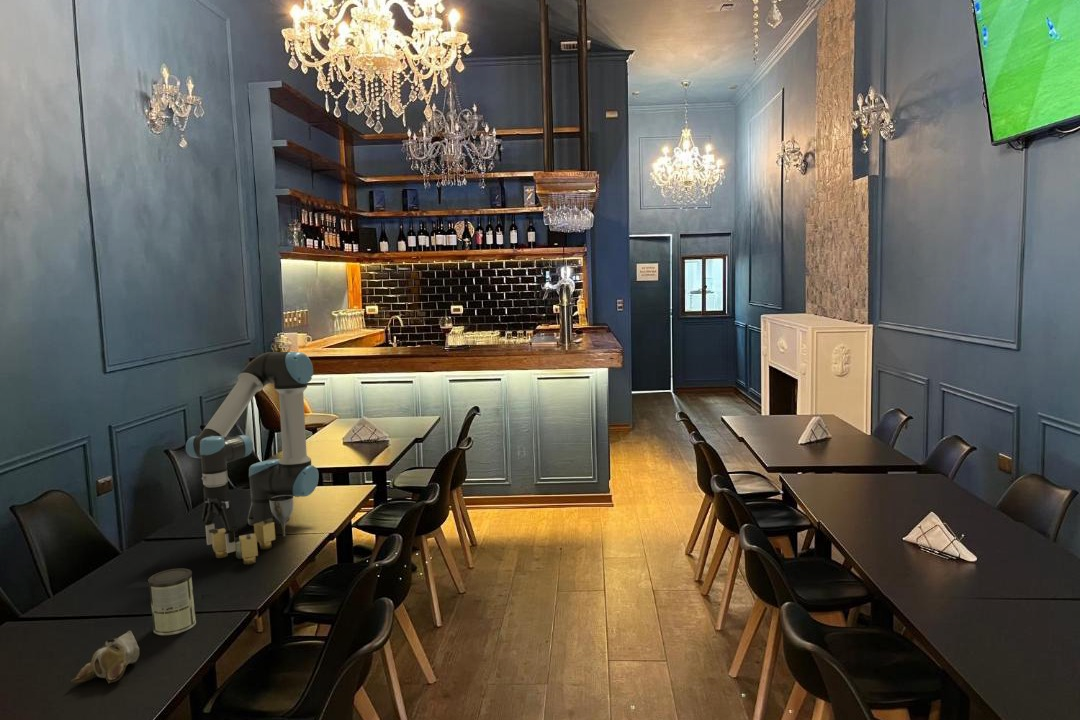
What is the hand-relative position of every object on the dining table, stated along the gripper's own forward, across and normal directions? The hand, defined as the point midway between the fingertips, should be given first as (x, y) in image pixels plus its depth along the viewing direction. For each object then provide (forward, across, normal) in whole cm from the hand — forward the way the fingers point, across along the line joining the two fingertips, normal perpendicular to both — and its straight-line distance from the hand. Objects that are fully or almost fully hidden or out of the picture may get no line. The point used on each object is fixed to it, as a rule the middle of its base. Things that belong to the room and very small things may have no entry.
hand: (221, 547), depth 253 cm
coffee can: (+4, +39, -32) cm, 51 cm away
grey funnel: (+4, -2, +24) cm, 24 cm away
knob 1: (+3, 0, 0) cm, 3 cm away
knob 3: (+3, +5, +13) cm, 14 cm away
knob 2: (+3, +14, +2) cm, 14 cm away
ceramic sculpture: (+5, +53, -53) cm, 75 cm away
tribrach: (+4, +6, +5) cm, 9 cm away
